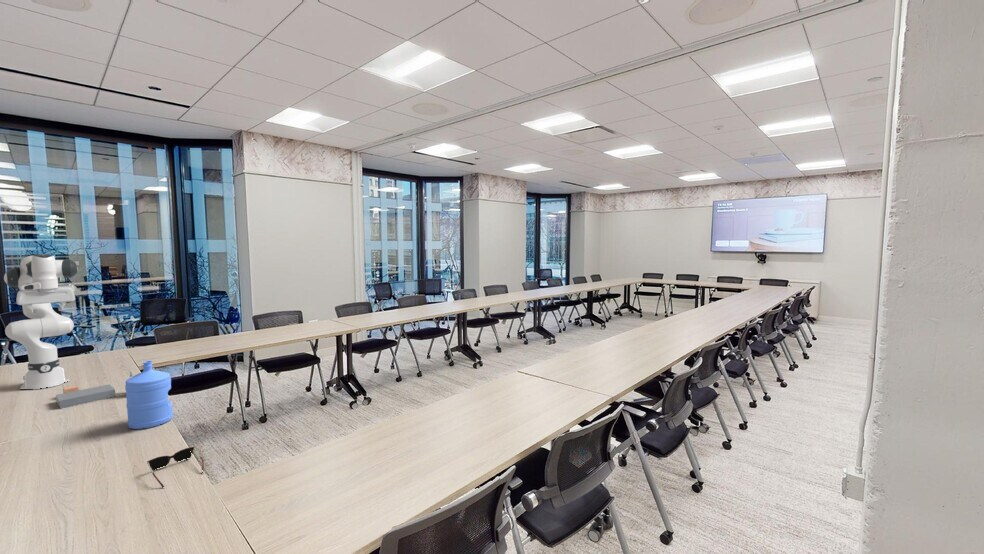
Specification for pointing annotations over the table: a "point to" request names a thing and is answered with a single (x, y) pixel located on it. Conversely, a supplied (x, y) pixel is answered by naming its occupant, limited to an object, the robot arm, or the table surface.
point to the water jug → (148, 398)
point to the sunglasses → (165, 460)
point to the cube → (70, 389)
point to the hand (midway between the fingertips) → (47, 311)
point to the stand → (84, 396)
